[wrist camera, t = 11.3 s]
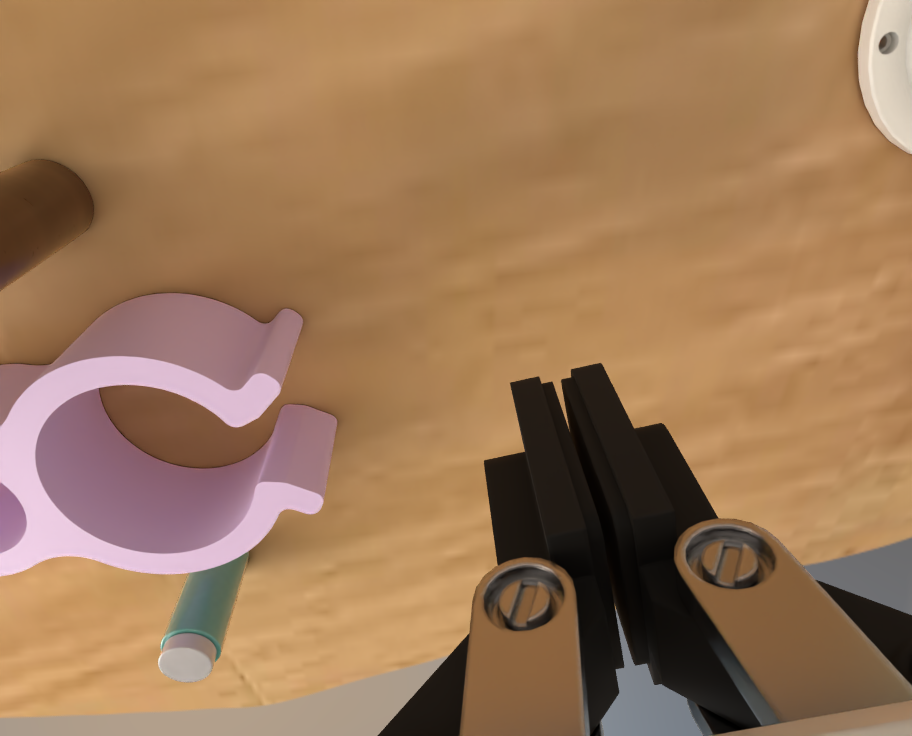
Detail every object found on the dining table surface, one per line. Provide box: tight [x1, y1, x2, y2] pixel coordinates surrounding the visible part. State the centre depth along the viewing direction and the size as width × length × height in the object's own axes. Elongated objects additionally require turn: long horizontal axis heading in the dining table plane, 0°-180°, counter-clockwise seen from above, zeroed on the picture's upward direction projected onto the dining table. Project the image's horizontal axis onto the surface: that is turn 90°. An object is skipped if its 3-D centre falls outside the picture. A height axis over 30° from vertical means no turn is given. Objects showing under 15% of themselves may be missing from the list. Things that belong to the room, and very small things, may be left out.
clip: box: [0, 293, 337, 576], centre depth 34 cm, size 20×12×7 cm, turn 101°
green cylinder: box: [158, 552, 249, 682], centre depth 39 cm, size 3×3×8 cm
